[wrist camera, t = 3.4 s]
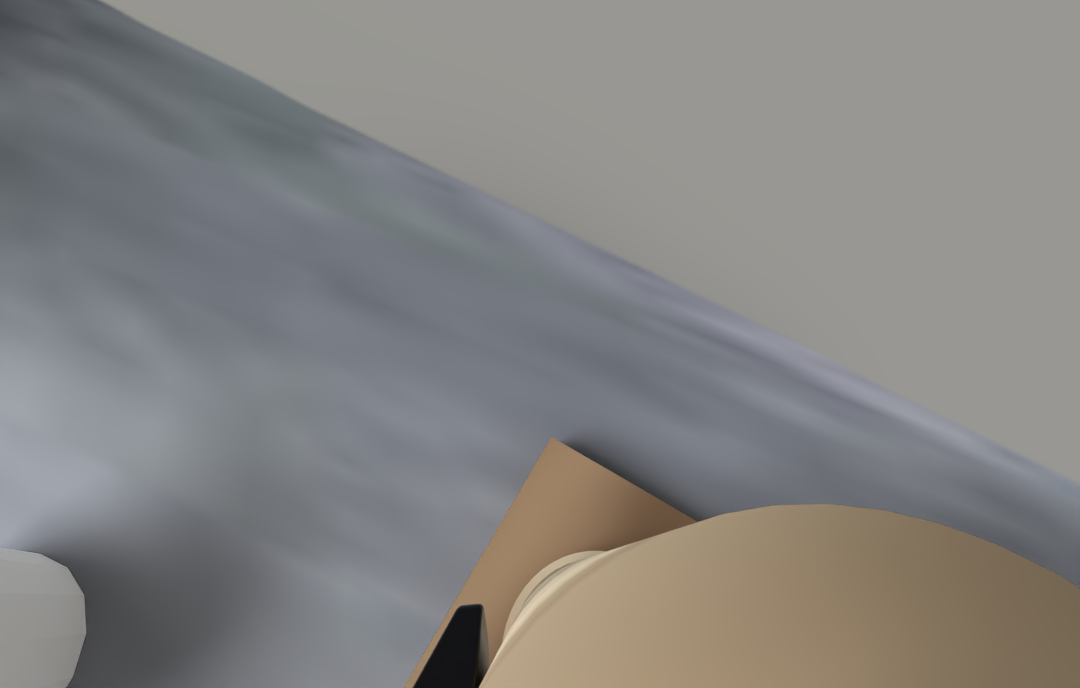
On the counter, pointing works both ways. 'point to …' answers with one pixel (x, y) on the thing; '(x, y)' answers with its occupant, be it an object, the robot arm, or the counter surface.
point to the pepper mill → (794, 609)
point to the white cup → (38, 621)
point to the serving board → (555, 533)
